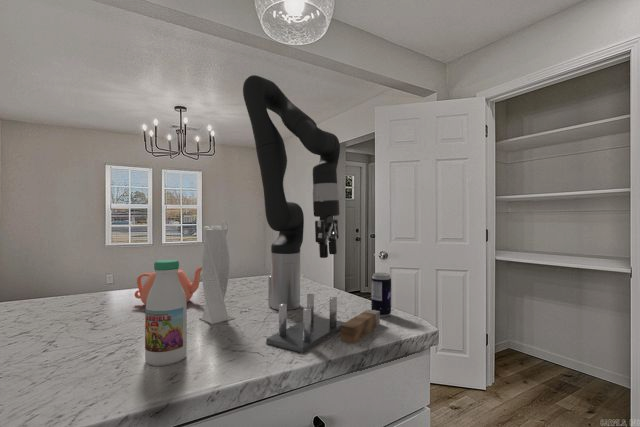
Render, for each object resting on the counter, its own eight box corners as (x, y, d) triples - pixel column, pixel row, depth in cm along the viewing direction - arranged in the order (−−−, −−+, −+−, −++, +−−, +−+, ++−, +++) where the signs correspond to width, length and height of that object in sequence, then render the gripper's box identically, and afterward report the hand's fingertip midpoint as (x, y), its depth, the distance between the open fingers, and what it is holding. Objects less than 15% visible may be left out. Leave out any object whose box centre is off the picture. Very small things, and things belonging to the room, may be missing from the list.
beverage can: (391, 318, 97) (391, 276, 97) (370, 317, 98) (371, 275, 98) (390, 312, 103) (391, 272, 103) (371, 311, 104) (372, 272, 104)
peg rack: (266, 343, 78) (266, 307, 78) (313, 320, 95) (313, 290, 95) (302, 353, 73) (302, 314, 73) (345, 326, 90) (345, 295, 90)
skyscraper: (237, 321, 95) (238, 220, 95) (211, 328, 89) (211, 220, 89) (221, 314, 101) (221, 219, 101) (195, 320, 95) (195, 220, 95)
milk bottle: (154, 351, 73) (154, 258, 73) (191, 350, 74) (191, 257, 74) (138, 367, 66) (138, 263, 66) (179, 366, 66) (180, 263, 66)
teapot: (209, 296, 122) (209, 261, 122) (201, 308, 106) (202, 268, 106) (142, 298, 118) (142, 262, 118) (125, 311, 103) (125, 270, 103)
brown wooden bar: (354, 343, 79) (354, 328, 79) (340, 340, 81) (340, 325, 81) (379, 324, 92) (379, 311, 92) (367, 321, 94) (367, 309, 94)
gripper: (321, 201, 107) (324, 253, 107) (304, 199, 94) (307, 259, 94) (344, 200, 105) (347, 253, 105) (330, 198, 91) (333, 258, 91)
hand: (328, 255), depth 99 cm, fingers open, 8 cm apart
